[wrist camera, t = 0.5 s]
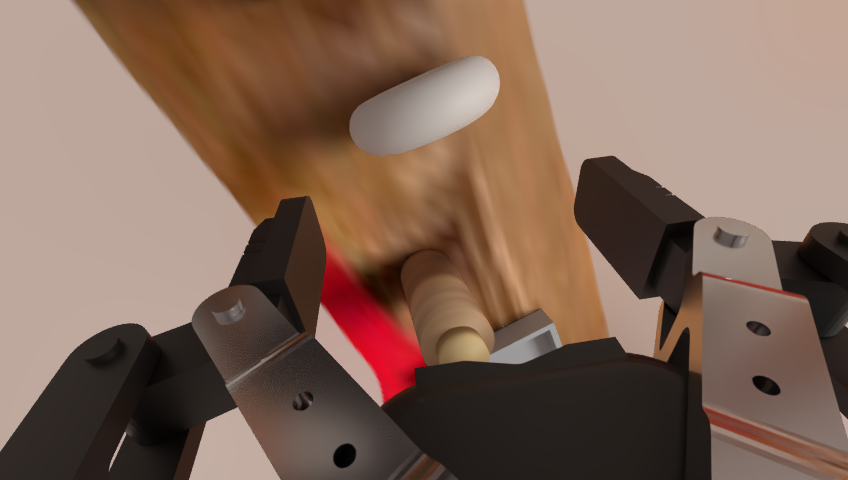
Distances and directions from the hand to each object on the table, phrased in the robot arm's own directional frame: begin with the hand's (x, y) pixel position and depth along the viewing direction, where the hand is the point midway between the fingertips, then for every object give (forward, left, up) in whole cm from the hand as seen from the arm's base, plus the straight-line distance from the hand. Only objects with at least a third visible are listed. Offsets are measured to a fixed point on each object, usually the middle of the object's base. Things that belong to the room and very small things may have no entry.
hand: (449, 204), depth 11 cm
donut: (-1, +3, -20) cm, 20 cm away
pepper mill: (+13, -2, -19) cm, 23 cm away
